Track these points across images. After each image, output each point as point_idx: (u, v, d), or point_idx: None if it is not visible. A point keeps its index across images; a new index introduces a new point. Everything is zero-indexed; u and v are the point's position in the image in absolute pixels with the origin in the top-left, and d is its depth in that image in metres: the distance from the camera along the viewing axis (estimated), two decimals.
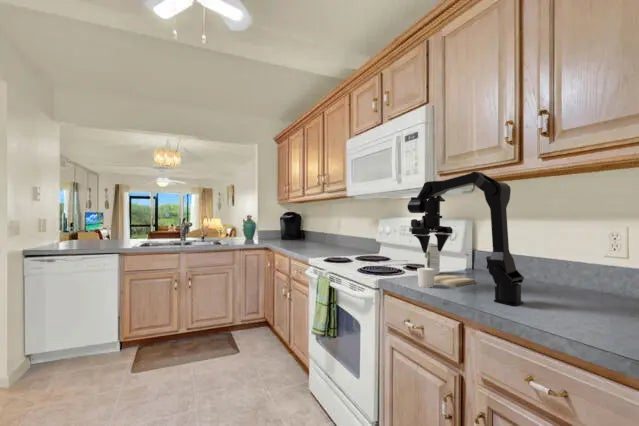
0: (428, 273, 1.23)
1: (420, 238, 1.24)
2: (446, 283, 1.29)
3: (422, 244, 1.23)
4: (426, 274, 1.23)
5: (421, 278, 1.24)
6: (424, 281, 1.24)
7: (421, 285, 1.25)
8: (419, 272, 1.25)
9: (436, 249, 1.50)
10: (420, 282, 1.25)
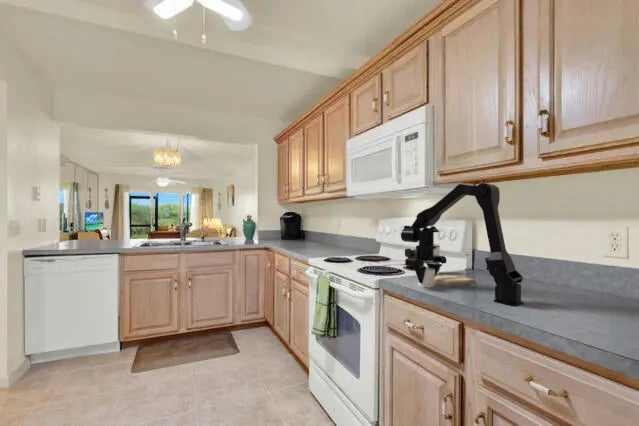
0: (428, 273, 1.23)
1: (416, 269, 1.24)
2: (446, 283, 1.29)
3: (418, 275, 1.24)
4: (426, 274, 1.23)
5: None
6: (424, 281, 1.24)
7: (421, 285, 1.25)
8: None
9: (436, 249, 1.50)
10: None
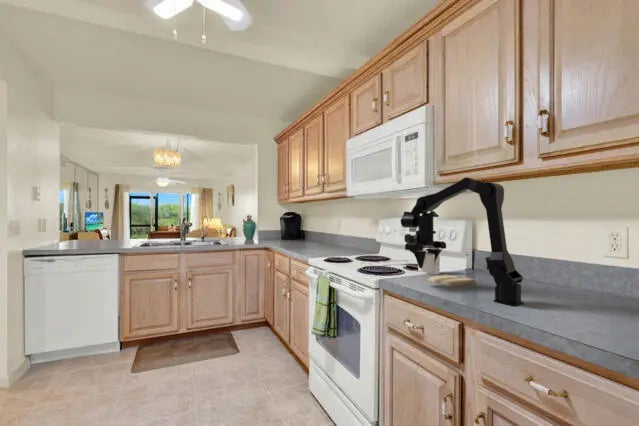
0: (428, 258, 1.23)
1: (416, 253, 1.24)
2: (446, 283, 1.29)
3: (418, 259, 1.24)
4: (426, 259, 1.23)
5: None
6: (424, 266, 1.24)
7: (421, 270, 1.25)
8: None
9: None
10: None
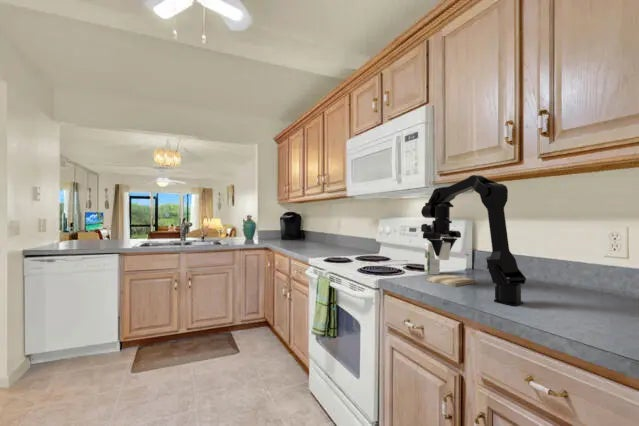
0: (444, 246, 1.29)
1: (433, 242, 1.30)
2: (446, 283, 1.29)
3: (435, 248, 1.30)
4: (442, 247, 1.29)
5: None
6: (440, 254, 1.30)
7: (437, 258, 1.31)
8: None
9: None
10: None
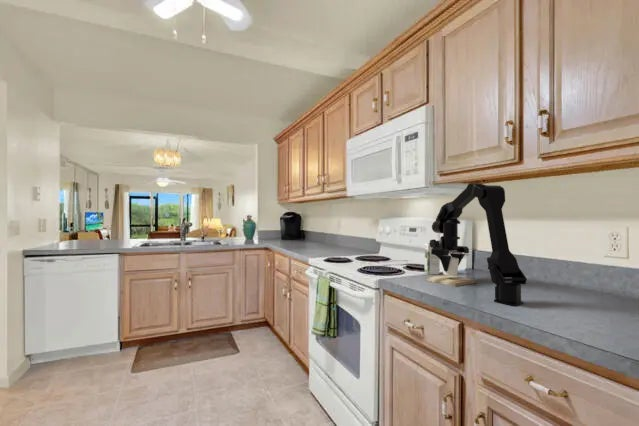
0: (453, 262, 1.32)
1: (441, 258, 1.33)
2: (446, 283, 1.29)
3: (443, 263, 1.33)
4: (451, 262, 1.32)
5: None
6: (449, 269, 1.32)
7: (446, 273, 1.33)
8: None
9: None
10: None
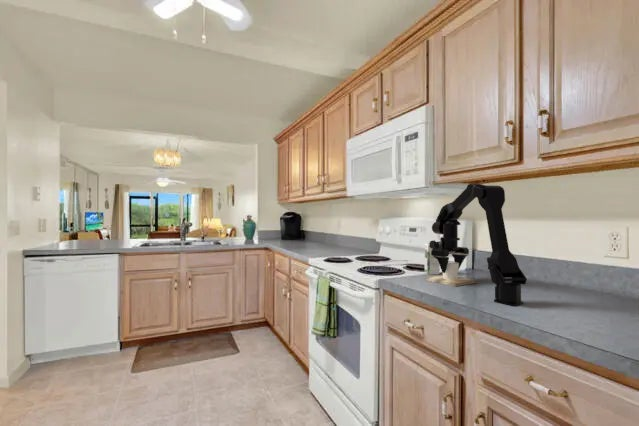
0: (452, 266, 1.32)
1: (439, 259, 1.32)
2: (446, 283, 1.29)
3: (441, 265, 1.32)
4: (450, 267, 1.32)
5: (446, 271, 1.33)
6: (449, 274, 1.32)
7: (446, 277, 1.33)
8: None
9: None
10: (445, 275, 1.34)
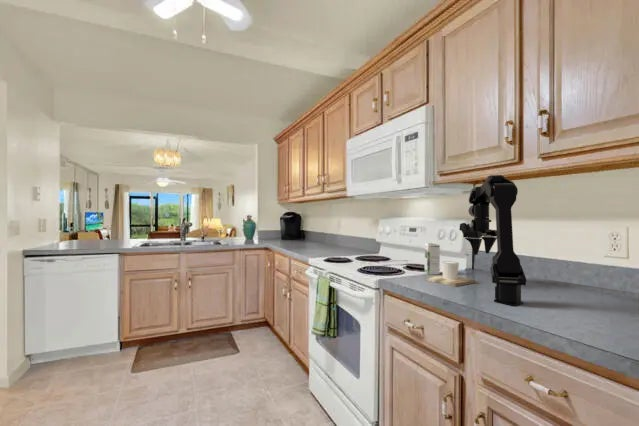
0: (453, 266, 1.32)
1: (471, 241, 1.30)
2: (446, 283, 1.29)
3: (473, 247, 1.30)
4: (450, 267, 1.32)
5: (446, 271, 1.33)
6: (449, 274, 1.32)
7: (446, 277, 1.33)
8: (444, 265, 1.34)
9: (436, 249, 1.50)
10: (445, 275, 1.34)
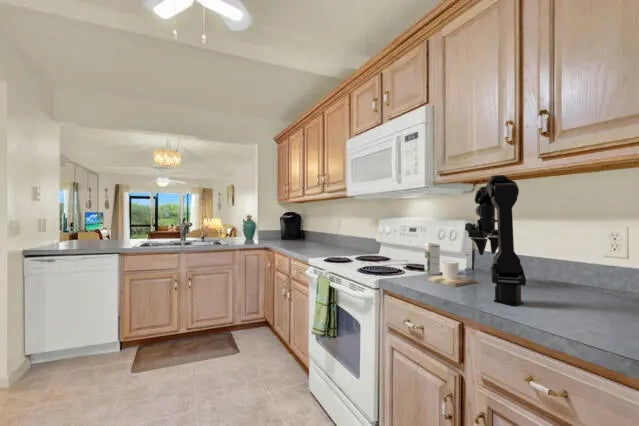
0: (453, 266, 1.32)
1: (477, 241, 1.30)
2: (446, 283, 1.29)
3: (479, 247, 1.30)
4: (450, 267, 1.32)
5: (446, 271, 1.33)
6: (449, 274, 1.32)
7: (446, 277, 1.33)
8: (444, 265, 1.34)
9: (436, 249, 1.50)
10: (445, 275, 1.34)
